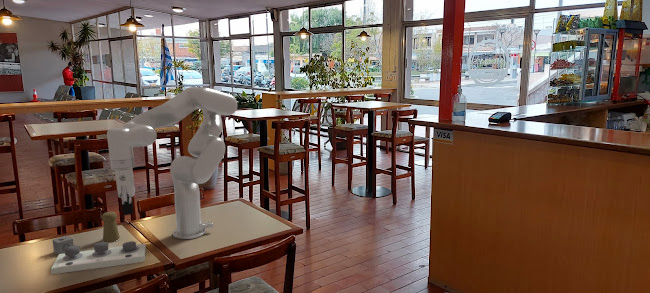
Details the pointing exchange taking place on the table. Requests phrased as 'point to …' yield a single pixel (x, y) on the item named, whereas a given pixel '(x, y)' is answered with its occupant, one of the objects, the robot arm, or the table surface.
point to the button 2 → (129, 246)
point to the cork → (110, 227)
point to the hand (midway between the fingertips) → (128, 213)
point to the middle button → (101, 247)
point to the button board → (98, 259)
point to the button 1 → (72, 250)
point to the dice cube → (62, 244)
